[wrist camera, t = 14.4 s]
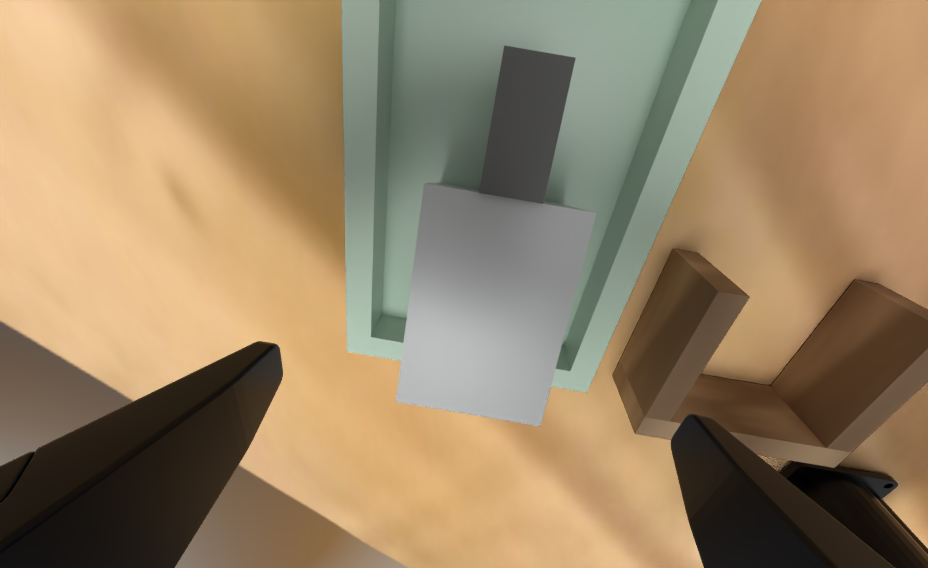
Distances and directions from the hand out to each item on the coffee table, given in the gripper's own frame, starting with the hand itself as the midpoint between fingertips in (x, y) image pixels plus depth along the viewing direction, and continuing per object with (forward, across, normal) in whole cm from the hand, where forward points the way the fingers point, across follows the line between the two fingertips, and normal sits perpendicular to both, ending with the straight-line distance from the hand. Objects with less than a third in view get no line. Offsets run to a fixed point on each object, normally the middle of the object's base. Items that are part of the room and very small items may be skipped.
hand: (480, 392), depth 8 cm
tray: (+11, 0, -2) cm, 11 cm away
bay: (+11, -14, +4) cm, 18 cm away
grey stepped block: (+9, 0, 0) cm, 9 cm away
